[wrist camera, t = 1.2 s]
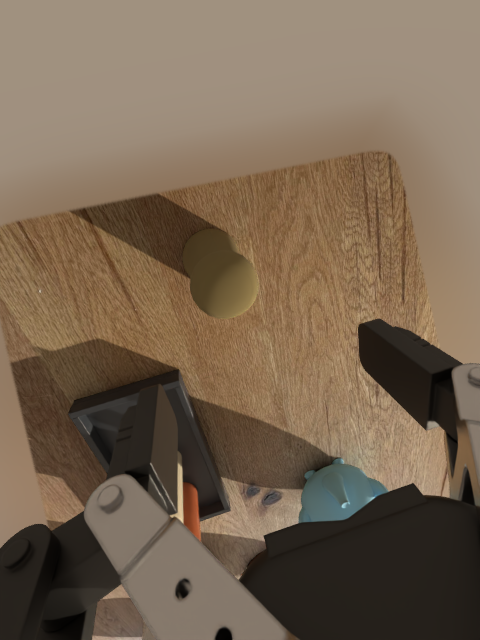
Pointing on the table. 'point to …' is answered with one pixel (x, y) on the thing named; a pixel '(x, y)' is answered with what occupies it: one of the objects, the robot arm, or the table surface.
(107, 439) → the tray
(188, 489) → the terracotta bottle
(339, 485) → the teapot
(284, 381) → the table surface
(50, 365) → the table surface
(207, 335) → the table surface
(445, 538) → the robot arm
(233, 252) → the pepper shaker
